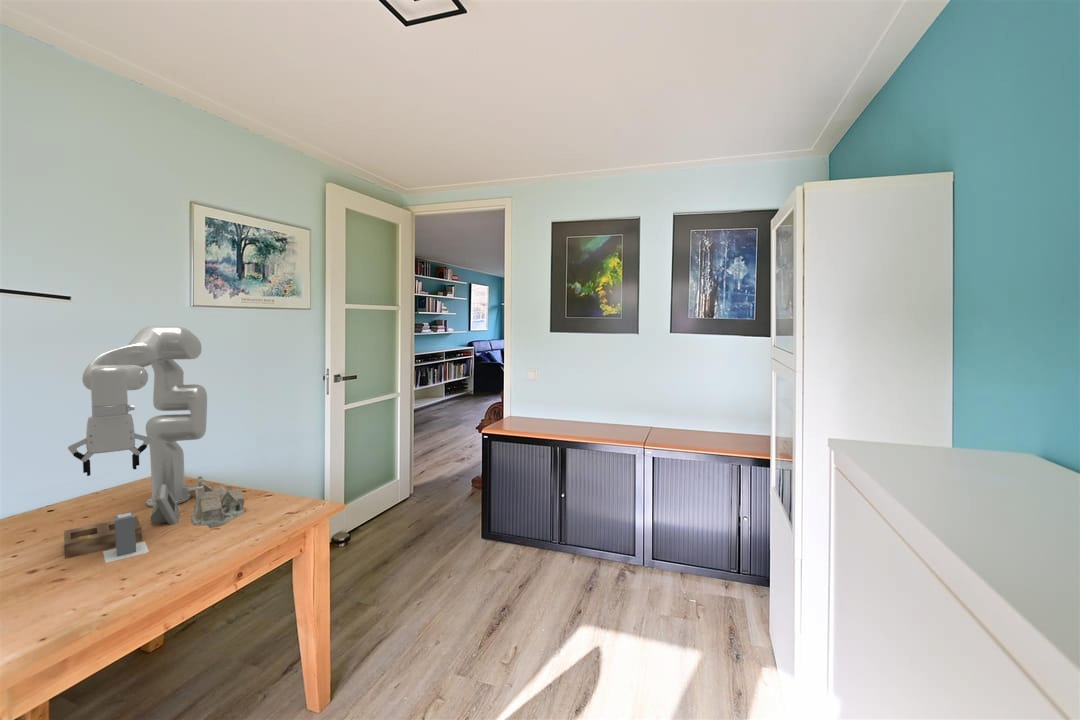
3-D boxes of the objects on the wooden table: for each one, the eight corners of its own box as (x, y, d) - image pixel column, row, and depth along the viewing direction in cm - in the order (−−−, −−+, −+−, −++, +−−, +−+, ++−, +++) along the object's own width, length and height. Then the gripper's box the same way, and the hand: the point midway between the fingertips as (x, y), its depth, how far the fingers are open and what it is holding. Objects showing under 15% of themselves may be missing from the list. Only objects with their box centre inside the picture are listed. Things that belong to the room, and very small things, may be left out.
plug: (134, 547, 136) (133, 511, 135) (136, 551, 133) (134, 515, 132) (115, 551, 133) (114, 515, 132) (117, 556, 130) (115, 519, 129)
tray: (145, 545, 139) (144, 541, 139) (149, 556, 133) (148, 552, 133) (103, 555, 133) (103, 551, 133) (105, 567, 127) (105, 562, 127)
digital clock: (177, 528, 152) (176, 495, 151) (141, 533, 148) (140, 499, 147) (189, 510, 166) (188, 480, 165) (157, 514, 162) (156, 483, 162)
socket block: (137, 531, 149) (136, 514, 148) (142, 544, 140) (141, 526, 140) (65, 547, 137) (64, 529, 137) (65, 562, 129) (64, 543, 128)
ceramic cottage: (187, 532, 149) (189, 483, 149) (190, 516, 162) (192, 472, 162) (246, 524, 157) (248, 478, 157) (244, 510, 171) (246, 468, 171)
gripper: (148, 406, 142) (150, 463, 143) (67, 412, 131) (69, 474, 131) (151, 409, 137) (153, 468, 138) (66, 415, 125) (68, 480, 126)
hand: (112, 471), depth 134 cm, fingers open, 9 cm apart
